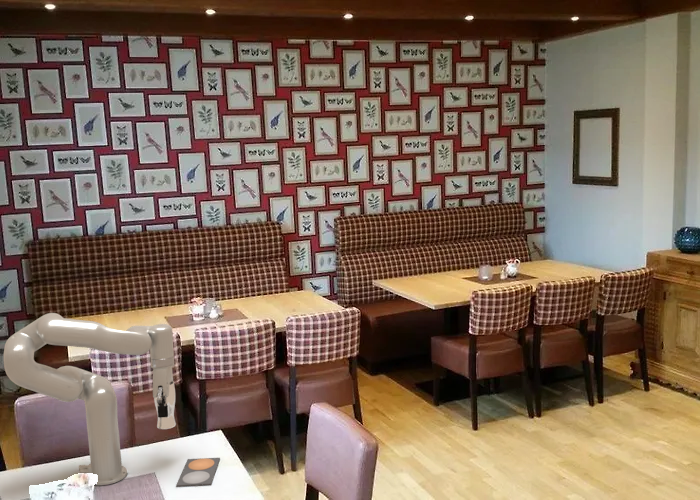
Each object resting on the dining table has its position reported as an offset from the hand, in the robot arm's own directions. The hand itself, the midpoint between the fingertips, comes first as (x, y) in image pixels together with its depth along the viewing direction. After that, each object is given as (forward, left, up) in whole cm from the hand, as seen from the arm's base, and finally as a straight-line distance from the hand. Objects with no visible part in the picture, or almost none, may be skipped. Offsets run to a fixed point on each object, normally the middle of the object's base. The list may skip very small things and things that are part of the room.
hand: (165, 412), depth 240 cm
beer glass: (0, 0, -5) cm, 5 cm away
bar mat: (+11, -8, -18) cm, 23 cm away
